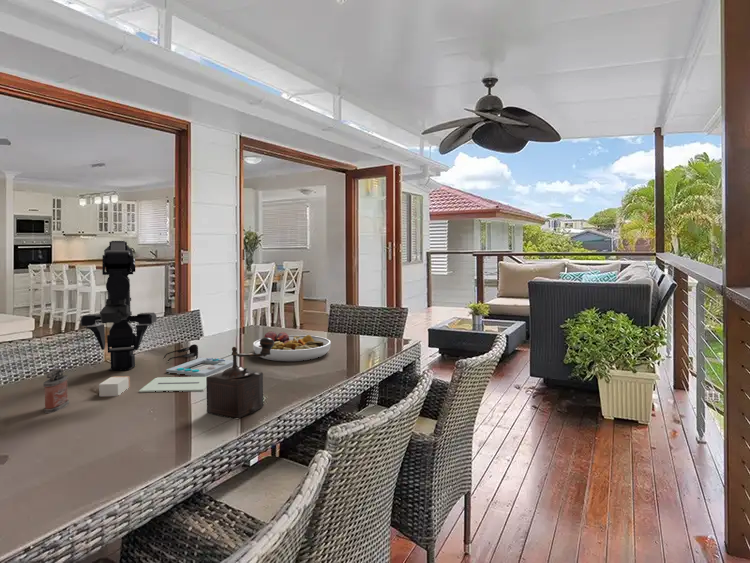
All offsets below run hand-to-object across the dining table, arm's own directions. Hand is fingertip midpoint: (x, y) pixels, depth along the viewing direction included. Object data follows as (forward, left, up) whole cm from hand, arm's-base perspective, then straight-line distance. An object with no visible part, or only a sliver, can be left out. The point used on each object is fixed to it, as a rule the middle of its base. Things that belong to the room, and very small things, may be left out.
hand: (120, 349), depth 139 cm
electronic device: (+16, +26, -13) cm, 33 cm away
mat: (+14, +6, -12) cm, 20 cm away
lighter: (-11, -13, -13) cm, 21 cm away
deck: (-2, 0, -13) cm, 13 cm away
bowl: (+45, +47, -13) cm, 66 cm away
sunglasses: (+5, +39, -13) cm, 42 cm away
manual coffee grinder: (+37, -16, -13) cm, 43 cm away
